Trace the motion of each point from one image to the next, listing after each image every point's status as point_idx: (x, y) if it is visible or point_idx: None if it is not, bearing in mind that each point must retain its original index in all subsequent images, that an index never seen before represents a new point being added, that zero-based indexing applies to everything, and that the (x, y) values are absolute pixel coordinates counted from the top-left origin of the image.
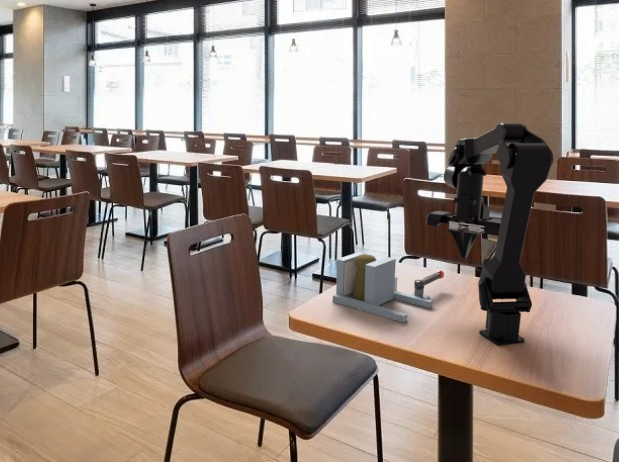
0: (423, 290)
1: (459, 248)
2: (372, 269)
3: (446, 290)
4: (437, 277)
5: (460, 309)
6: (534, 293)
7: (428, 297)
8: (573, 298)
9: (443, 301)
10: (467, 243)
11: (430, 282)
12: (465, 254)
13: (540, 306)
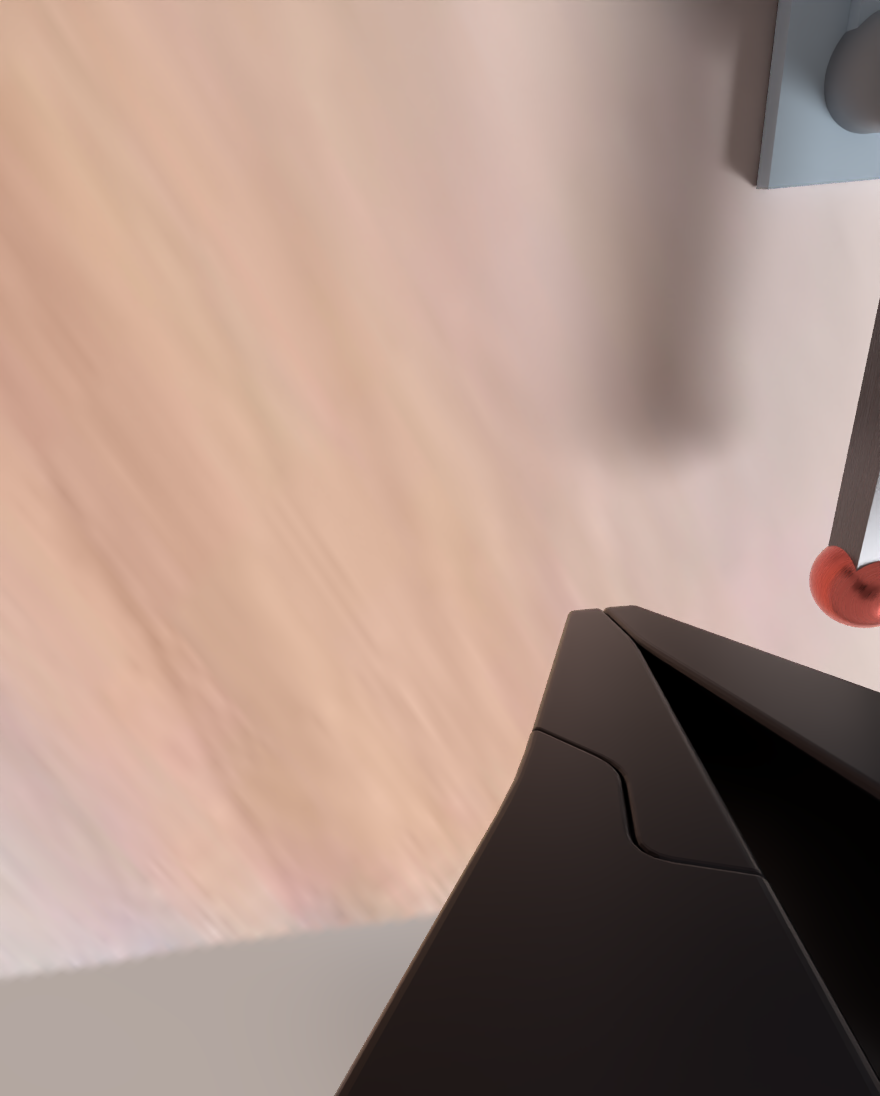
0: (873, 81)
1: (763, 667)
2: None
3: (709, 519)
4: (852, 493)
5: (365, 138)
6: (204, 871)
7: (771, 151)
8: (6, 936)
9: (608, 227)
10: (544, 796)
11: (876, 323)
12: (568, 639)
13: (9, 706)
